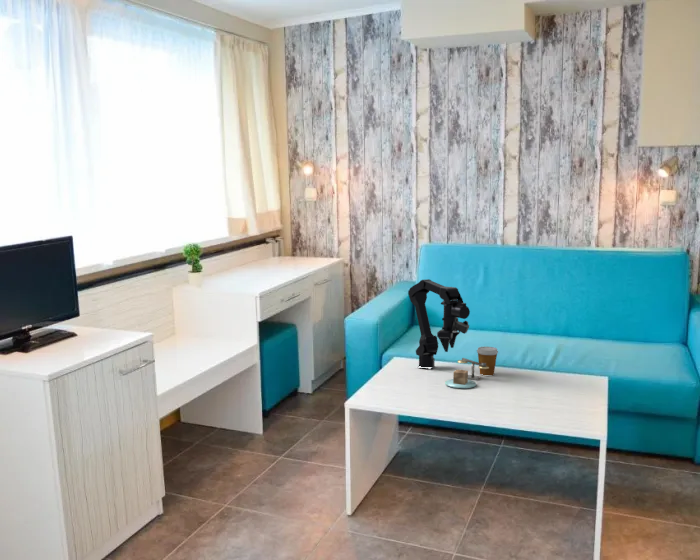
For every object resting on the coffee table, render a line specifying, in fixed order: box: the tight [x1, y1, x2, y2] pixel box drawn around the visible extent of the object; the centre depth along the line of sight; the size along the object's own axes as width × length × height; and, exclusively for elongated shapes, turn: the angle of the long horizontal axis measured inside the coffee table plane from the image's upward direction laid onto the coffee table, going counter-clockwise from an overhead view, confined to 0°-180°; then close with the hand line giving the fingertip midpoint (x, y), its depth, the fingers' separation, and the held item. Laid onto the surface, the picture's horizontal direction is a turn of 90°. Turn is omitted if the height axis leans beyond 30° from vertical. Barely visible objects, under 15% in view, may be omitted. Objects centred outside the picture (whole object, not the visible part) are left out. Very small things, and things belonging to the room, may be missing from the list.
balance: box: [457, 357, 489, 381], centre depth 298 cm, size 14×5×9 cm, turn 65°
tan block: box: [452, 369, 469, 385], centre depth 287 cm, size 5×5×5 cm
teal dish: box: [445, 378, 477, 389], centre depth 288 cm, size 13×13×1 cm
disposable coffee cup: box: [476, 346, 499, 376], centre depth 305 cm, size 10×10×12 cm
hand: (449, 349), depth 302 cm, fingers open, 9 cm apart
